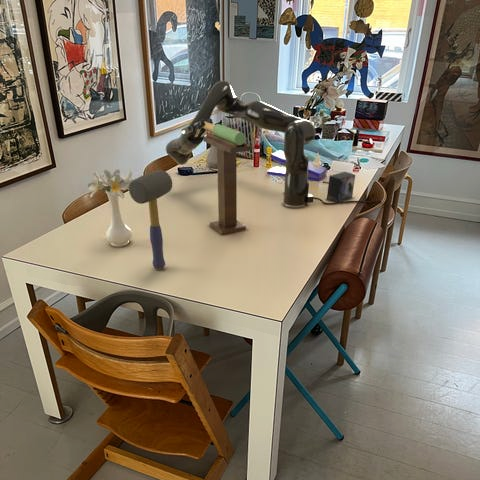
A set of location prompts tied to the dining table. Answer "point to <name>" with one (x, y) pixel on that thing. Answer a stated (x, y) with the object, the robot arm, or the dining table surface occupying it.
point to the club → (226, 133)
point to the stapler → (280, 158)
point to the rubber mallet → (152, 207)
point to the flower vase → (114, 204)
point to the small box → (340, 186)
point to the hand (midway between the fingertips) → (207, 121)
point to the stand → (226, 184)
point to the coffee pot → (212, 157)
